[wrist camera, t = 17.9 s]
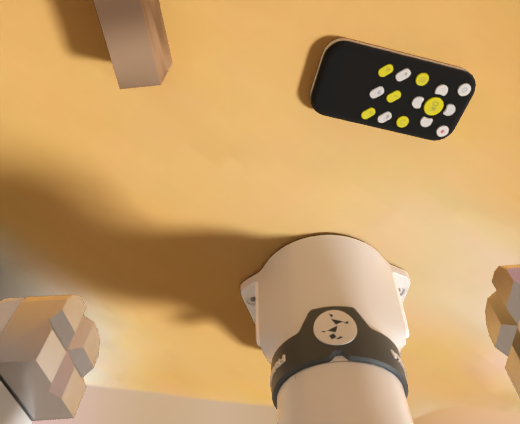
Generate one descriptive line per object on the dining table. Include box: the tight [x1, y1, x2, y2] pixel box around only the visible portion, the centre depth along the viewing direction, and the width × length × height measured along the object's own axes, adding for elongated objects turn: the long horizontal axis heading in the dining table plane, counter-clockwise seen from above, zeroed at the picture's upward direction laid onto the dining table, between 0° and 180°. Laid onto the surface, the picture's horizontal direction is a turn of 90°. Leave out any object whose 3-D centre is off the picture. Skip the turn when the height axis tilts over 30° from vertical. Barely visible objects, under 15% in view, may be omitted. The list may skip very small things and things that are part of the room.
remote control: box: [310, 38, 476, 140], centre depth 37 cm, size 6×13×2 cm, turn 77°
